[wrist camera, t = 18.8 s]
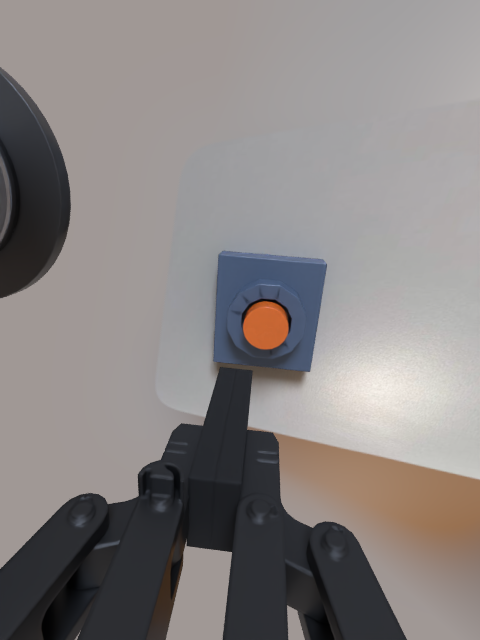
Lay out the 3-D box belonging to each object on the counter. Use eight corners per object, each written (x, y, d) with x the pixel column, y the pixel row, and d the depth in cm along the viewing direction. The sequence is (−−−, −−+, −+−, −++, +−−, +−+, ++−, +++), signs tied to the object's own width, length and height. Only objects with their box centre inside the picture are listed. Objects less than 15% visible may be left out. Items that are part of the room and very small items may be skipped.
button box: (222, 250, 31) (215, 258, 27) (323, 259, 30) (330, 268, 26) (216, 351, 34) (209, 370, 30) (307, 361, 33) (312, 382, 30)
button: (246, 298, 28) (244, 305, 27) (290, 302, 28) (291, 309, 26) (243, 339, 29) (241, 347, 28) (285, 343, 29) (285, 351, 28)
